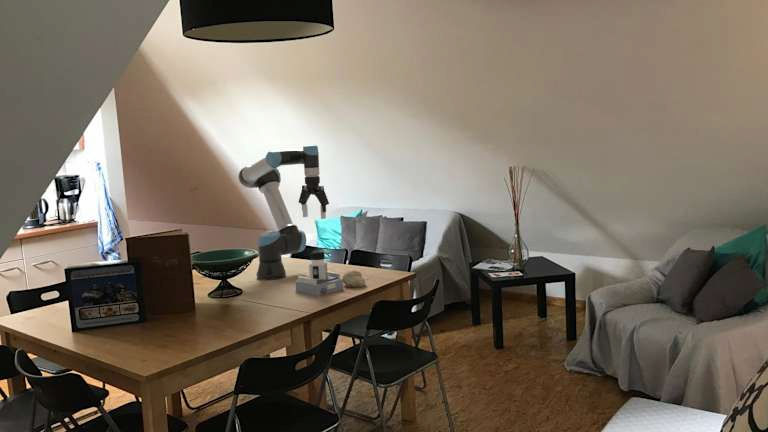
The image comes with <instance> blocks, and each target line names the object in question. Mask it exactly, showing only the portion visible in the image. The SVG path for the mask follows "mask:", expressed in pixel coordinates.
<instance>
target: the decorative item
mask: <svg viewBox="0 0 768 432" xmlns="http://www.w3.org/2000/svg"><path fill="white" fill-rule="evenodd" d="M342 279H343V284H344V285H345V287H347V288H348V287H349V288H361V287H364V286H365V285H366V279H365V278H364V277H362V273H361V271H359V270H350V271H347V272H346V273H344V274H343V276H342Z"/></svg>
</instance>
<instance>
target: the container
mask: <svg viewBox="0 0 768 432" xmlns="http://www.w3.org/2000/svg"><path fill="white" fill-rule="evenodd" d="M325 256H326V255H325V252H324V251H323V250H314V251H312V252H310V262H309V264H308V271H309V273H308V274H309V277H310V278H311V279H317V280H326V278H327V276H328V273H327V271H328V261H327V260H326V259H325Z"/></svg>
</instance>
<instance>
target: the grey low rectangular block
mask: <svg viewBox="0 0 768 432" xmlns="http://www.w3.org/2000/svg"><path fill="white" fill-rule="evenodd" d="M327 273H328V276H327V278H326V280H317V279H311V278H310V276H308V277H305V276H297V280H296V281H295V282H294V283H295V292H298V293H302V294H307V295H312V296H317V297H320V296H323V295H326V294H331V293H334V291H335V292H337V291H341V290H344V283H343V278H342V277H341V275H340V272H339V273H338V272H334V271H333V272H332V271H329V270H327Z"/></svg>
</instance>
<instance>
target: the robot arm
mask: <svg viewBox="0 0 768 432" xmlns="http://www.w3.org/2000/svg"><path fill="white" fill-rule="evenodd" d="M319 157H320V156H319V146H318V145H317V144H316V145H315V144H314V145H311V144H310V145H309V144H308V145H303V147H302V149H299V148H297V149H296V148H295V149H285V150H284V149H283V150H271V151H268V152H267V153H266V155H265V157H264V158H261V159H260V160H258V161H257V162H255V163H253V164H252V165H246V166H244V167H242V168H241V170H240V171H239V172H238V180H239V183H240V184H241V185H242V186H243V187H246V188H248V189H252V188H255V189H257V188H258V191H259V192H260V194H263V196H264V198H265V201H266V203H267V205H268V208H269V210H270V213H271V216H272V218H273V220H274V223H275V226H276V228H277V230H276V231H275V230H274V231H266V232H264V233H261V234H260V235H258V237H257V246H258V261H259V264H258V267H257V272H256V278H257V279H258V280H261V281H269V280H271V281H272V280H278V279H283V278H285V277H286V276H287V273H286V272H287V271H286V269H285V266H284V264H283V260H282V256H286V255H292V254H298V253H301V252H303V251H304V250H305V248H306V246H307V236H306V233H305V231H303V230H302V229H300V230H299V227H298V226H297V225H296V224H294V223H293V221H292V218H291V216H290V213H289V211H288V208H287V206H286V203H285V201H284V199H283V196H282V194H281V191H280V189H279V187H280V186H281V185H280V184H281V180H282V179H281V173H280V170H279V169H278V168H279V167H281V166H289V165H303V167H304V168H303V170H304V176H305V177H304V184H305V185H304V184H303V185H301V192H300V195H299V199H298V204H301V210H302V218H308V217H309V214H308V213H309V211H308V200H309V199H310V197H311V195H312V196H313V195H314V196H315V198H316V199H317V201H318V202H319V204H320V207H319V209H320V219H321V220H324V219H325V220H326V218H327V213H326V212H327V205H329V204H330V202H329V199H328V196H327V194H326V192H325V188H324V185H319V184H320V183H321V177H320V175H321V174H320V160H319V159H320V158H319Z"/></svg>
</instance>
